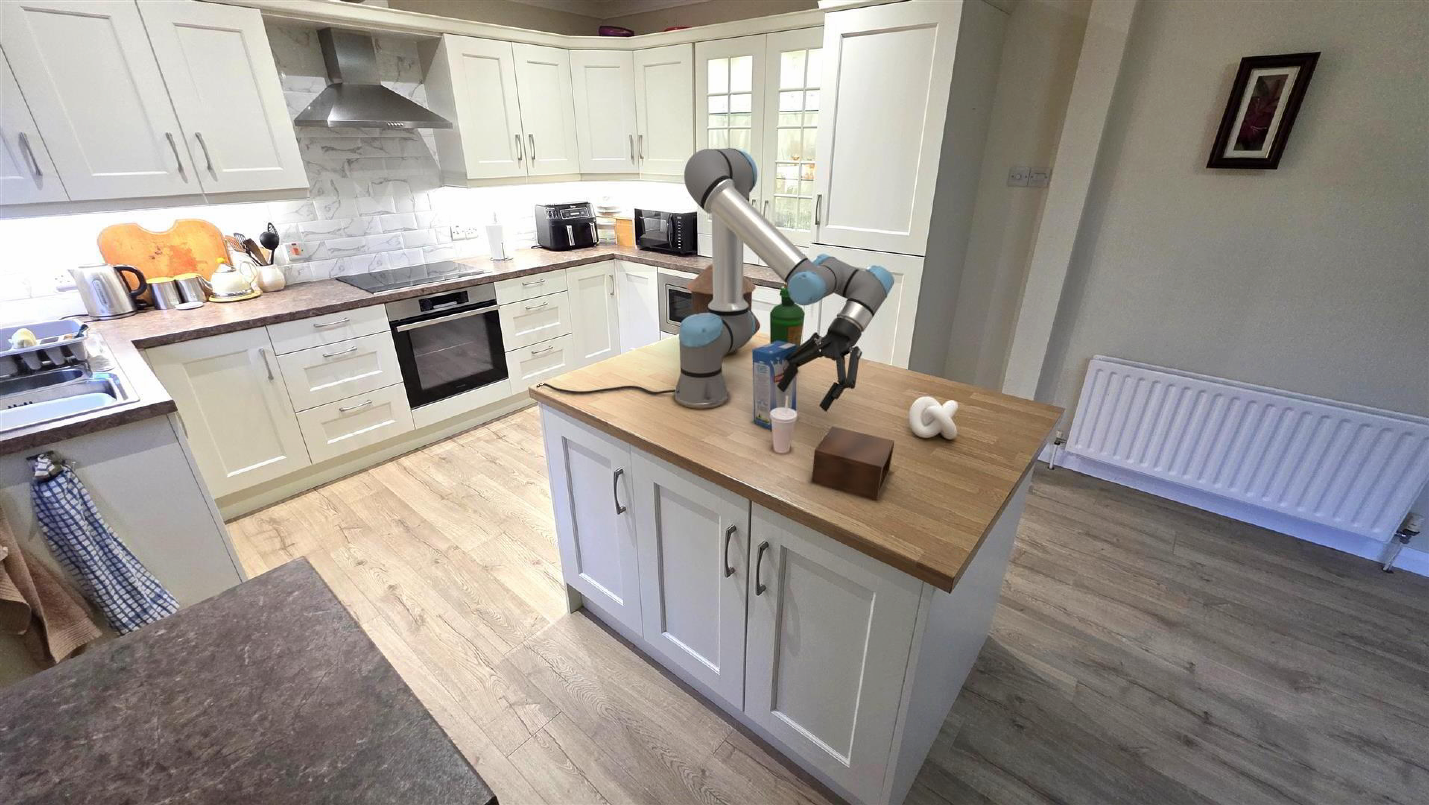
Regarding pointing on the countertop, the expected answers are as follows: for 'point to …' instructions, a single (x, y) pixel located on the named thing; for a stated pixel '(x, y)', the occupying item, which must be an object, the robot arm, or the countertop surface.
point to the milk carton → (771, 380)
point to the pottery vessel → (704, 294)
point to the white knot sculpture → (933, 418)
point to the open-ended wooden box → (852, 462)
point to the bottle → (786, 320)
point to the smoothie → (782, 427)
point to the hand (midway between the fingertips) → (800, 398)
